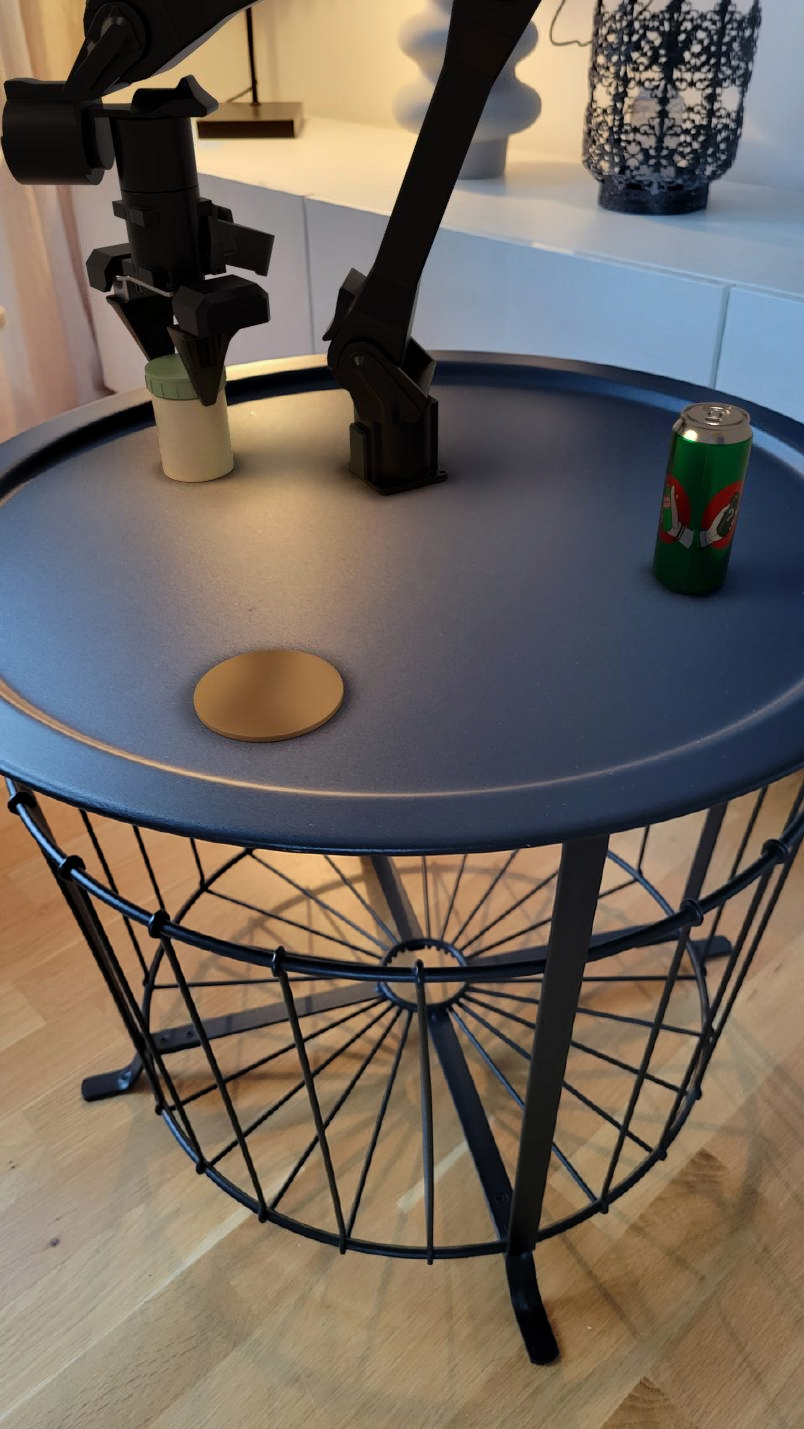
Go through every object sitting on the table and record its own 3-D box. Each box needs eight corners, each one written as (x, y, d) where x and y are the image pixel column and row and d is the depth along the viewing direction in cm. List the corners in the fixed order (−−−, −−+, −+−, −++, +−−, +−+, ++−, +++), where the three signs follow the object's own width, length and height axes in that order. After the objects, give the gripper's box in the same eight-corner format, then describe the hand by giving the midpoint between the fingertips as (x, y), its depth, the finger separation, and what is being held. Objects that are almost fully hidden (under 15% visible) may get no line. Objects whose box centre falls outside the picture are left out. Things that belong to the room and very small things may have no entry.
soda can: (727, 568, 75) (759, 404, 68) (720, 603, 71) (753, 433, 64) (656, 558, 77) (680, 396, 69) (645, 591, 73) (669, 424, 66)
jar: (219, 448, 94) (207, 353, 89) (244, 472, 90) (233, 374, 85) (154, 462, 92) (138, 366, 86) (177, 488, 87) (161, 388, 82)
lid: (210, 366, 90) (207, 347, 89) (238, 389, 85) (236, 369, 84) (137, 380, 87) (133, 360, 86) (162, 404, 83) (158, 384, 82)
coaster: (305, 640, 69) (305, 635, 68) (369, 712, 62) (369, 706, 62) (173, 680, 65) (172, 675, 65) (227, 760, 59) (226, 755, 59)
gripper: (322, 189, 75) (334, 401, 85) (191, 155, 87) (215, 346, 97) (186, 212, 70) (215, 437, 79) (65, 174, 82) (103, 373, 91)
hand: (188, 394), depth 87 cm, fingers closed on lid, 6 cm apart
